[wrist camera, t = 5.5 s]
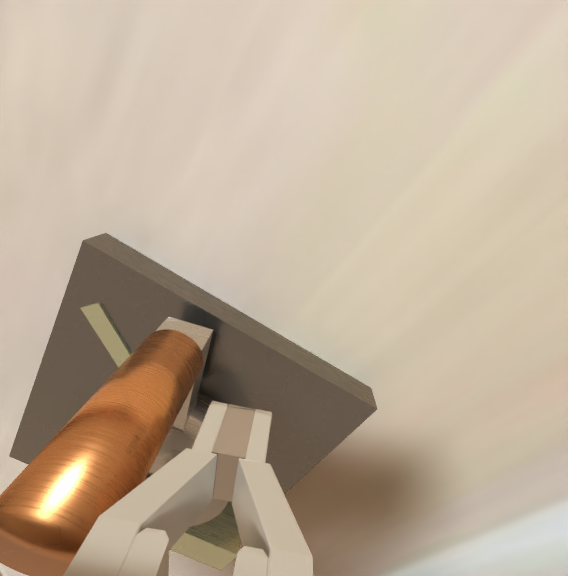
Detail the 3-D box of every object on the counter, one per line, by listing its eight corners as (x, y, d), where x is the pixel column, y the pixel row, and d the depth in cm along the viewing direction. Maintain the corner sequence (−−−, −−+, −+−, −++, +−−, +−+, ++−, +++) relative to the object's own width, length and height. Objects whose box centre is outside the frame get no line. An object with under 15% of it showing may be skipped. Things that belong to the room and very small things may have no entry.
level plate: (371, 388, 16) (386, 439, 13) (230, 523, 22) (218, 580, 19) (105, 232, 13) (47, 252, 10) (29, 436, 20) (-21, 485, 17)
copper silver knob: (284, 326, 13) (255, 569, 5) (224, 494, 18) (164, 741, 10) (112, 275, 12) (-210, 455, 5) (101, 462, 18) (-59, 694, 10)
